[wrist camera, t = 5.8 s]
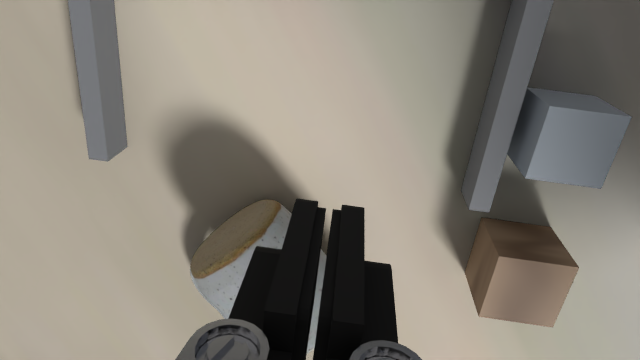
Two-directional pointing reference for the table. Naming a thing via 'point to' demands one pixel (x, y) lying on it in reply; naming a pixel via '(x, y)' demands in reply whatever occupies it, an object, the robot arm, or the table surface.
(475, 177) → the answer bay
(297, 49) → the table surface
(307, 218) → the robot arm
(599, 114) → the slate block
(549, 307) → the walnut block
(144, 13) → the table surface
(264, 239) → the ceramic mug
